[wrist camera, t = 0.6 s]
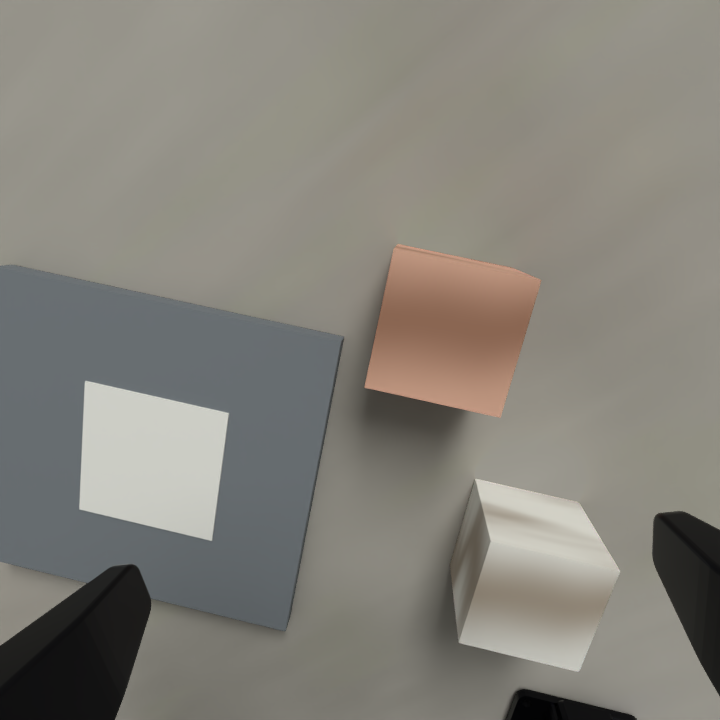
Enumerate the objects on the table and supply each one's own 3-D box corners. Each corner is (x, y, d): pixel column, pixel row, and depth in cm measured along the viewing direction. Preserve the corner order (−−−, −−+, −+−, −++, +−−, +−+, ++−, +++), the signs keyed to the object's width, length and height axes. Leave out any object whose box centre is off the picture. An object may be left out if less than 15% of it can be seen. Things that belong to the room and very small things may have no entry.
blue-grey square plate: (289, 616, 27) (284, 632, 26) (12, 549, 28) (-4, 562, 27) (344, 336, 23) (340, 342, 22) (12, 264, 23) (-7, 266, 22)
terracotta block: (481, 376, 23) (500, 417, 18) (374, 353, 23) (364, 387, 18) (512, 267, 21) (541, 280, 16) (397, 244, 21) (393, 249, 17)
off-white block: (547, 586, 25) (579, 671, 20) (449, 563, 25) (458, 642, 21) (578, 501, 24) (620, 571, 19) (475, 477, 24) (490, 541, 19)
